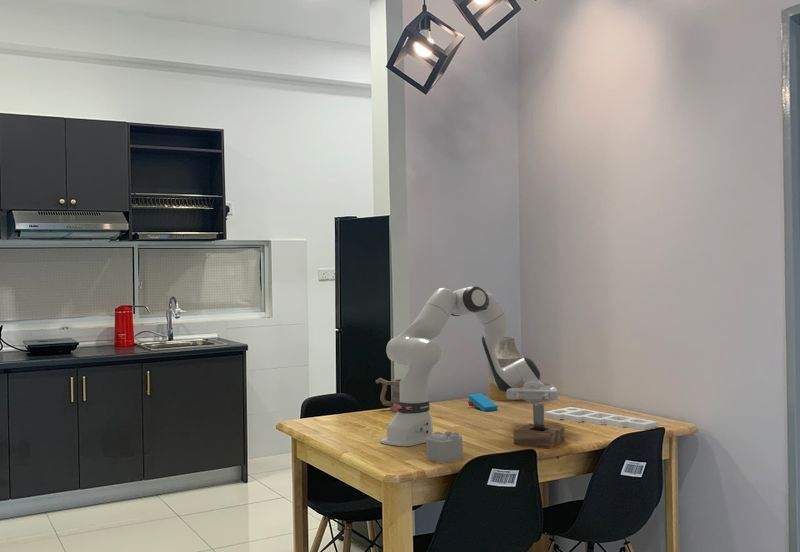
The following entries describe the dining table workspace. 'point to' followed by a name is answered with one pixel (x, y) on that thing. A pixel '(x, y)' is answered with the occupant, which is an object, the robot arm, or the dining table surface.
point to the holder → (600, 418)
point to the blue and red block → (481, 402)
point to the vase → (505, 357)
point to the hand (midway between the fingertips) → (531, 396)
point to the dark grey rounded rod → (538, 417)
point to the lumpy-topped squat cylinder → (444, 447)
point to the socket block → (539, 436)
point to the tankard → (394, 388)
